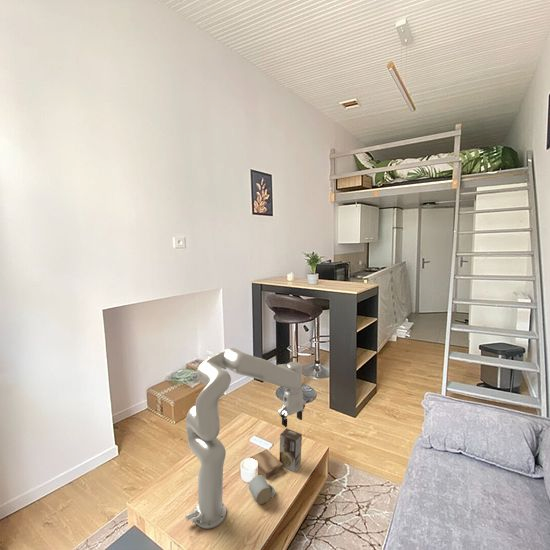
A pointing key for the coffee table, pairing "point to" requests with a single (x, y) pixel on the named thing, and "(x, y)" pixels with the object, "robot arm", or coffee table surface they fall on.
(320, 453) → the coffee table surface
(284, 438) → the coffee box
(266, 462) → the walnut tray
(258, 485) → the ceramic mug
